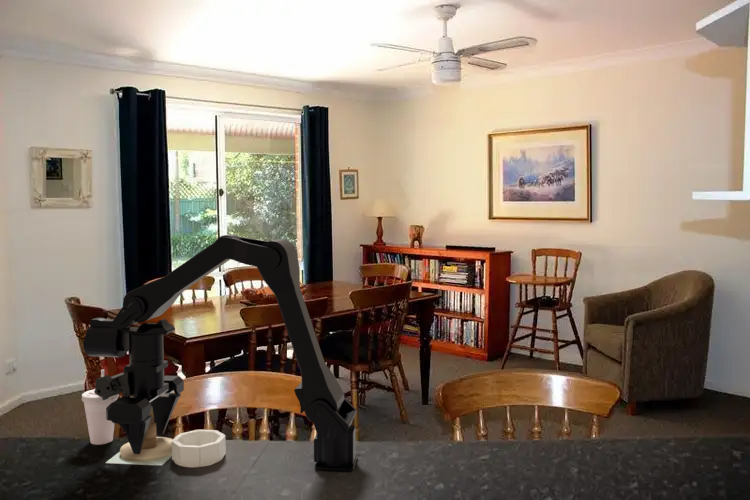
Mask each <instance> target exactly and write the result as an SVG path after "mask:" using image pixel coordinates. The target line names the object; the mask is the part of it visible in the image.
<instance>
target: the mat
mask: <svg viewBox="0 0 750 500" xmlns="http://www.w3.org/2000/svg"><path fill="white" fill-rule="evenodd" d="M171 458H172V454H171V455H169V456H167V457H164V458H160V459H156V460H151V461H130V460H126V459H124V458H122V457H121V456H120V451H119V452H117V453H116V454H114V455H113V456H112V457H111V458H110V459H108V460H107V461H106V462H105V464H112V465H113V464H114V465H116V464H117V465H118V464H119V465H135V466H136V465H141V466H161V467H162V466H163V465H164V464H165V463H166V462H168V460H170V459H171Z"/></svg>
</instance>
